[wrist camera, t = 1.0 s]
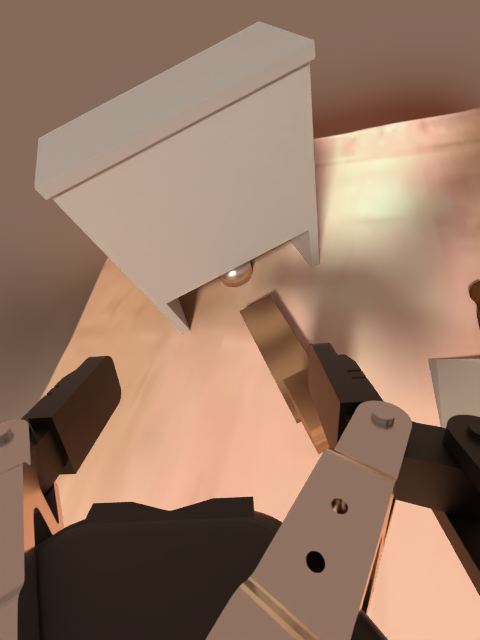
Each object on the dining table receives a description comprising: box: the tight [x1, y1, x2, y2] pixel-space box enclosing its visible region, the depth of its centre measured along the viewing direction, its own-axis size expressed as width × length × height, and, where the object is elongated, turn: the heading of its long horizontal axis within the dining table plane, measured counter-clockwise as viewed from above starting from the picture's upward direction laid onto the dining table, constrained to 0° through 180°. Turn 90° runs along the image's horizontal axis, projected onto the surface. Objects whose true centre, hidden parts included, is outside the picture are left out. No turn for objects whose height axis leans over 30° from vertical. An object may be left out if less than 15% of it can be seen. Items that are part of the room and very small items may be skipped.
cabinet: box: [34, 22, 319, 334], centre depth 33 cm, size 10×23×24 cm, turn 113°
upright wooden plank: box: [240, 296, 330, 454], centre depth 28 cm, size 18×4×14 cm, turn 23°
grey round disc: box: [220, 261, 252, 287], centre depth 42 cm, size 5×5×3 cm
